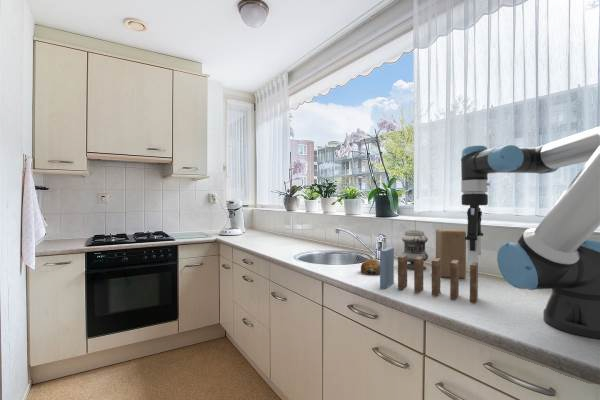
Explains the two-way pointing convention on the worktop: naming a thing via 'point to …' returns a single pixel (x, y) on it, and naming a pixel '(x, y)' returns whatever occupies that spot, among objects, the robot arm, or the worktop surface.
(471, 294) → the loose domino
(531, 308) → the worktop surface
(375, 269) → the brown furry rounded lump
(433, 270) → the domino
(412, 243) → the grey tall rounded piece
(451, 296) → the domino
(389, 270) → the board
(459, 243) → the wooden block
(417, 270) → the domino
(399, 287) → the domino
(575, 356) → the worktop surface
